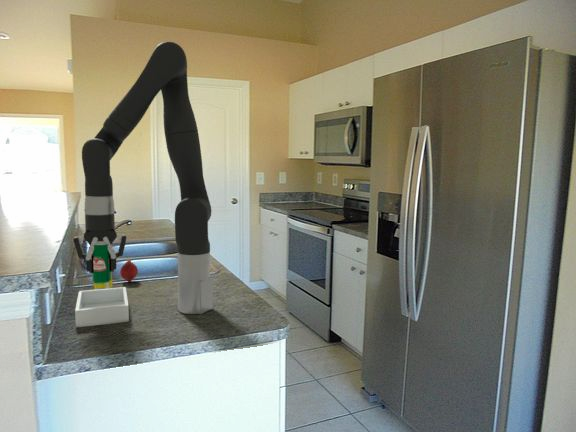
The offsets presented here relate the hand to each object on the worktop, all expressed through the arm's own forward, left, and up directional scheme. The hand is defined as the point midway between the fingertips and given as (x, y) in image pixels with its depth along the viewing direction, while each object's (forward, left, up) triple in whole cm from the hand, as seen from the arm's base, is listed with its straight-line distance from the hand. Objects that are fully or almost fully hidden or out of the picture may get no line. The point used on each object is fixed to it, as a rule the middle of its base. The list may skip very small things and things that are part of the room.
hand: (101, 271), depth 125 cm
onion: (+17, -27, -12) cm, 35 cm away
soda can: (0, 0, -3) cm, 3 cm away
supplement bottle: (+15, -13, -12) cm, 23 cm away
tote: (0, 0, -12) cm, 12 cm away
